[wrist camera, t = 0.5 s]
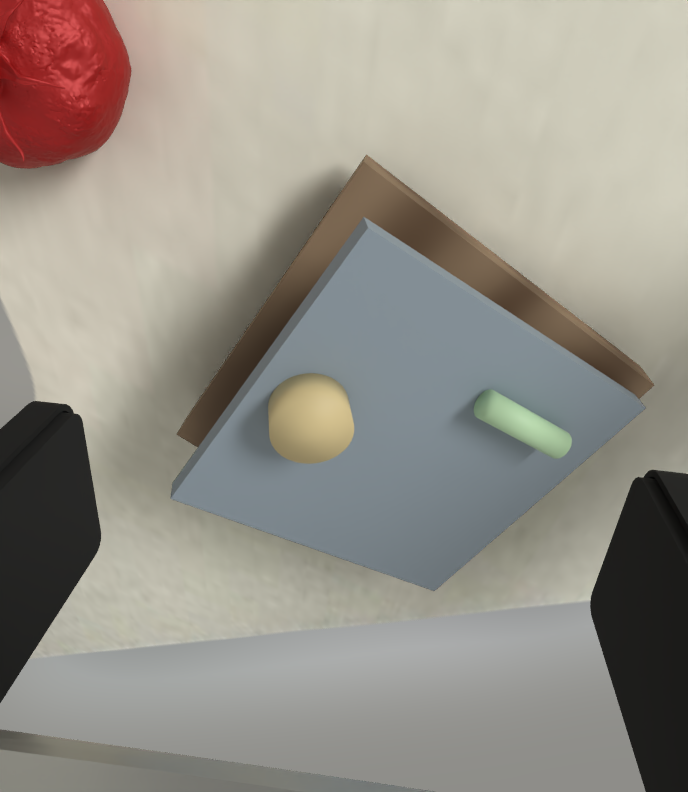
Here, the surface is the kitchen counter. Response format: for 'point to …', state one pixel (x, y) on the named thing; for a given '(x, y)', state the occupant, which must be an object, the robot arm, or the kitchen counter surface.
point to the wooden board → (435, 240)
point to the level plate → (401, 419)
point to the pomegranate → (58, 80)
